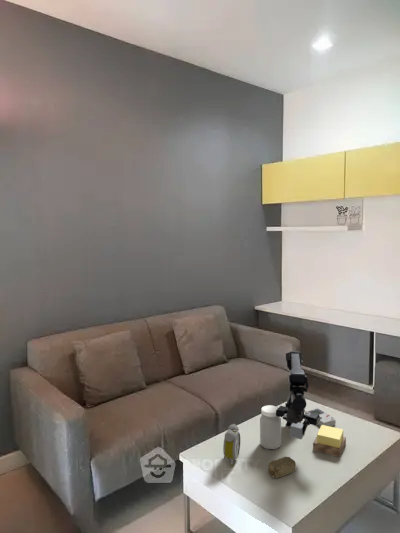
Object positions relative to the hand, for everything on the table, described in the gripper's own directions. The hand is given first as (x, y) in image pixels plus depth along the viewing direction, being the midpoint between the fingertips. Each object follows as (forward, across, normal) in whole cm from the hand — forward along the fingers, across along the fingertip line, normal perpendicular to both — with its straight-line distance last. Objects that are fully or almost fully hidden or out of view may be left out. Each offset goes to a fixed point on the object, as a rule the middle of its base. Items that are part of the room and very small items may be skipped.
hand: (297, 433), depth 182 cm
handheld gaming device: (+12, 0, +38) cm, 40 cm away
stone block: (+11, -2, -15) cm, 19 cm away
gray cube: (+1, 0, 0) cm, 1 cm away
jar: (+11, -14, +3) cm, 18 cm away
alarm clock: (+11, -25, -17) cm, 32 cm away
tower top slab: (+8, +11, +15) cm, 20 cm away
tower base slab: (+12, +10, +14) cm, 21 cm away
